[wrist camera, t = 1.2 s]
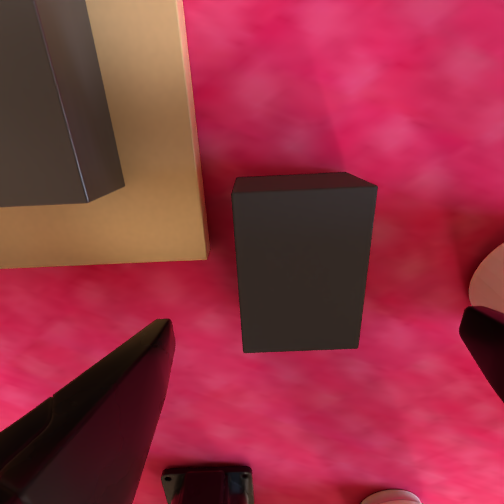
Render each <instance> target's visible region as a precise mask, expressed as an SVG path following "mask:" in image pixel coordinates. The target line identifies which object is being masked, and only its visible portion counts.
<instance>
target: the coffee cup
mask: <svg viewBox="0 0 504 504" xmlns="http://www.w3.org/2000/svg"><path fill="white" fill-rule="evenodd" d="M469 300H470V302H471V305H472V306H485V307H488V308H491V309H493V310H496V311H499V312H502V313H504V243H502V244H501V245H499V246H498V247H497V248H496V249H494V250H493V251H492V252H491V253H490V254H489V255H488V256H487V257H486V258H485V259H484V260H483V261H482V262H481V263H480V265H479V266H478V268H477V269H476V271H475V272H474V275H473V277H472V279H471V281H470V286H469Z"/></svg>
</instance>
